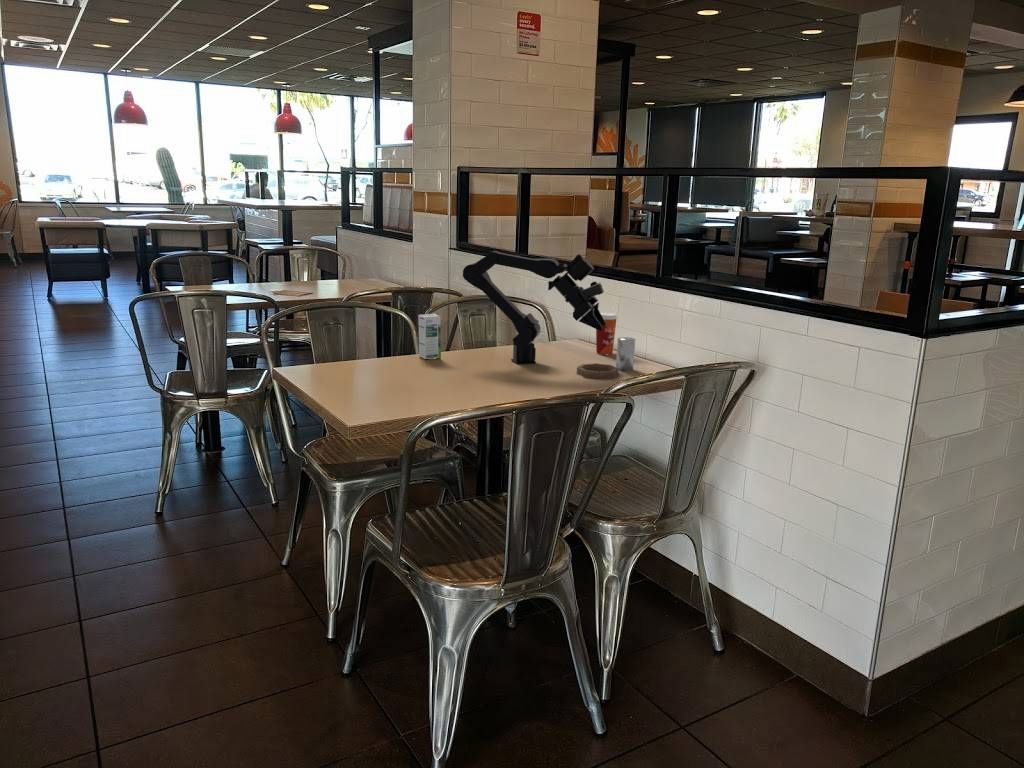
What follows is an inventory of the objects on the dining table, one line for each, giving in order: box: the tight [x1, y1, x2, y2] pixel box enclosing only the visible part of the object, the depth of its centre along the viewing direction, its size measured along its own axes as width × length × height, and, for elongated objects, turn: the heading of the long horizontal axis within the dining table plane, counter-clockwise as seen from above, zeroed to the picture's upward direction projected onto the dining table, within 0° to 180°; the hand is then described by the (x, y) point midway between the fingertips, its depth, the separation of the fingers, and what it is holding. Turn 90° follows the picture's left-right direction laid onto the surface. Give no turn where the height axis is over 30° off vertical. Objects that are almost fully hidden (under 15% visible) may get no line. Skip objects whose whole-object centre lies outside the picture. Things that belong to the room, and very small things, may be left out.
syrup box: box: [417, 313, 442, 360], centre depth 253 cm, size 6×6×14 cm
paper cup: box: [595, 312, 618, 355], centre depth 267 cm, size 8×8×14 cm
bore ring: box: [576, 362, 619, 380], centre depth 237 cm, size 12×12×2 cm
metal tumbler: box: [615, 336, 636, 372], centre depth 243 cm, size 6×6×10 cm
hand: (603, 327), depth 243 cm, fingers open, 9 cm apart
